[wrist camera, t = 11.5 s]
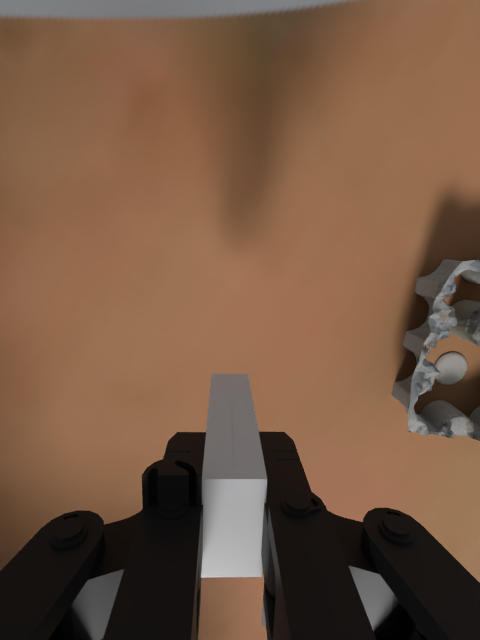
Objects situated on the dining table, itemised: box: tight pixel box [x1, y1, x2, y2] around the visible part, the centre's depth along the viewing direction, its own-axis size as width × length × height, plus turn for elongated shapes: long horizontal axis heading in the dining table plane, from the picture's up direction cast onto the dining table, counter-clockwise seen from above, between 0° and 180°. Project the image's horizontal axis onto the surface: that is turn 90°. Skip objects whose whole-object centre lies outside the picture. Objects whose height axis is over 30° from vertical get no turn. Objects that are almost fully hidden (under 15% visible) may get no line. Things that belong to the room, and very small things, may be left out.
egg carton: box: [392, 259, 480, 441], centre depth 20 cm, size 11×8×4 cm
